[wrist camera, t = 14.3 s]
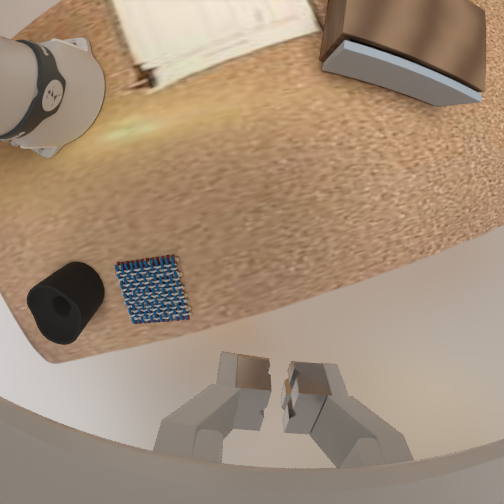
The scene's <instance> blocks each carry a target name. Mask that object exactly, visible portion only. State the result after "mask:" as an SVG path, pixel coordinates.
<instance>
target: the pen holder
mask: <svg viewBox="0 0 504 504" xmlns="http://www.w3.org/2000/svg"><path fill="white" fill-rule="evenodd" d="M103 297H104V289H103V285H102V282H101V280H100V278H99V276H98V275H97V273H96V272H95V271H94V270H93V269H92V268H90V267H89V266H87V265H85V264H83V263H79V262H72V263H69V264H67V265H65V266H64V267H62V268H61V269H59V270H57V271H56V272H54V273H53V274H52V275H50V276H49V277H47V278H46V279H44V280H43V281H41V282H40V283H39V284H37V285H36V286H34V287H33V288H32V289H31V290H30V291H29V293H28V296H27V304H28V307H29V309H30V311H31V312H32V314H33V316H34V319H35V321H36V324H37V326H38V328H39V330H40V332H41V333H42V334H43V336H45V337H46V338H47V339H48V340H50V341H52V342H54V343H57V344H62V345H66V344H70V343H72V342H74V341H75V340H76V339H77V337H78V336H79V335H80V333H81V332H82V330H83V329H84V328H85V326H86V325H87V323H88V322H89V321H90V319H91V318H92V316H93V315H94V314H95V312H96V311H97V309H98V308H99V306H100V305H101V303H102V301H103Z"/></svg>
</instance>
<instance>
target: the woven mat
mask: <svg viewBox="0 0 504 504" xmlns="http://www.w3.org/2000/svg"><path fill="white" fill-rule="evenodd" d="M166 257H167V258H164V256H161V258H160V259H159V258H158V257H156V258H155V259H154V260H153V258H150V261H149V259H148V258H146V261H143V259H141V260H140V262H139V261H138V260H136V262H134V261H131V262H130V263H129V261H126V264H124V262H121V264H120V262H117V264H118V266H117V265H115V269H116V271H117V272H116V271H115V273H117V275H116V277H118V278H119V279H117V280H118V281H119V282H120V285H118V286H119V287H121V288H122V289H120V290H121V291H123V293H121V295H122V294H123V296H124V297H125V298H123V300H125V302H124V304H125V303H126V304H127V305H126V307H128V309H129V311H127V313H128V312H129V314H130V315H129V316H130V317H131V318H129V319H131V320H132V322H133V323H134V324H142V323H151V322H154V323H155V322H160V320H161V322H165V319H166V322H168V321H170V320H171V321H173V320H176V321H179V320H180V319H181V320H185V319H186V320H189V316H190V315H193V313H192V312H188V311H189V310H191V306H190V305H189V306H187V304H186V303H187V302H190V300H189V299H184V297H185V298H187V296H188V294H186V293H183V290H184V289H185V288H184V286H182V285H181V282H183V280H182V279H180V277H181V276H183V273H182V272H179V271H178V270H177V269H178V268H181V266H176V262H178V261H179V260H180V259H179V258H178V257H174V255H171V257H170V258H169V255H166ZM175 261H176V262H175ZM165 262H166V265H165ZM170 262H171V264H170ZM160 263H161V265H160ZM155 265H156V266H155ZM145 267H146V268H145ZM135 268H136V269H135ZM126 270H127V271H126ZM172 270H173V271H174V272H173V271H172ZM167 271H168V272H167ZM152 273H153V274H152ZM157 273H158V274H157ZM168 277H170V279H169V278H168ZM174 277H175V278H176V279H175V278H174ZM164 278H165V280H164ZM153 279H154V280H155V281H154V280H153ZM144 281H145V282H144ZM125 284H126V285H125ZM170 285H171V286H172V287H171V286H170ZM161 287H162V288H161ZM166 287H167V288H166ZM141 289H142V290H141ZM162 292H163V294H162ZM167 292H168V293H167ZM134 297H135V298H134ZM179 298H180V299H179ZM169 299H170V301H169ZM164 300H165V301H164ZM181 304H182V306H181ZM166 305H167V307H166ZM161 306H162V308H161ZM171 306H172V307H171ZM142 308H143V309H142ZM152 308H153V309H152ZM168 311H169V312H168ZM178 312H179V313H178ZM183 312H184V313H183ZM149 315H150V316H149ZM140 316H141V317H140ZM184 316H185V317H184ZM179 317H180V318H179ZM169 318H170V319H169Z"/></svg>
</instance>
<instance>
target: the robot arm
mask: <svg viewBox="0 0 504 504" xmlns="http://www.w3.org/2000/svg"><path fill="white" fill-rule="evenodd" d="M75 44H76V45H75ZM104 92H105V81H104V75H103V71H102V69H101V67H100V65H99V63H98V62H97V61H96V59H95V58H94V57H93V55H92V53H91V47H90V42H89V40H88V39H86V38H83V37H79V38H72V39H66V40H59V39H54V38H53V39H52V40H51V41H45V42H41V43H37V42H33V41H29V40H28V41H26V40H16V41H14V40H11V39H8V38H4V37H1V36H0V141H4V142H8V141H9V140H11V143H10V144H11V145H13V146H19V145H20V148H23V149H31V150H33V151H35V152H36V153H38V154H40V155H41V156H43V157H45V158H52V157H53V156H55V155H56V154H57V153H58V151H59V150H60V149H61V148H62V147H63V146H64V145H65V144H67V143H69V142H71V141H73V140H75V139H77V138H78V137H80V136H81V135H82V134H83V133H85V132H86V131H87V130H88V128H89V127H90V126H91V125H92V123H93V122H94V120H95V119H96V117H97V115H98V113H99V111H100V108H101V106H102V102H103V98H104ZM43 148H44V149H43ZM269 367H270V363H269V359H268V358H263V357H256V356H249V355H243V354H236V353H230V352H223V351H222V352H221V355H220V362H219V369H218V375H217V382H216V384H211V385H210V386H208V387H207V388H206V389H204V390H203V391H202V392H200V393H199V394H198V395H196V396H195V397H194V398H193V399H191V400H189V401H188V402H187V403H185V404H184V405H183V406H181V407H180V408H178V409H177V410H176V411H174V412H173V413H171V414H170V415H168V416H167V417H166V418H164V419H163V420H162V421H161V425H160V428H159V431H158V435H157V439H156V442H155V445H154V449H153V451H150V450H146V449H141V448H137V447H134V446H130V445H126V444H122V443H119V442H115V441H112V440H108V439H105V438H101V437H98V436H95V435H92V434H89V433H86V432H83V431H80V430H77V429H75V428H72V427H69V426H66V425H64V424H61V423H58V422H56V421H53V420H51V419H48V418H46V417H43V416H41V415H39V414H36V413H34V412H32V411H29V410H27V409H25V408H23V407H21V406H19V405H16V404H14V403H12V402H10V401H8V400H6V399H4V398H2V397H0V504H504V439H502V440H499V441H496V442H493V443H489V444H486V445H482V446H479V447H475V448H471V449H467V450H463V451H459V452H455V453H450V454H446V455H441V456H436V457H431V458H425V459H420V460H414V459H413V457H412V455H411V452H410V450H409V447H408V445H407V443H406V440H405V438H404V436H403V434H401V433H400V432H399V431H397V430H396V429H395V428H393V427H392V426H391V425H389V424H388V423H387V422H386V421H384V420H383V419H381V418H380V417H379V416H378V415H376V414H375V413H374V412H372V411H371V410H370V409H368V408H367V407H366V406H365V405H363V404H362V403H361V402H359V401H358V400H357V399H356V398H354V397H353V396H348V393H347V390H346V387H345V384H344V382H343V379H342V376H341V373H340V370H339V368H338V366H337V364H329V363H321V364H319V363H307V362H296V361H291V363H290V365H289V368H288V377H289V378H288V379H286V380H285V381H284V385H283V388H282V394H281V406H282V408H283V409H284V410H285V412H284V415H283V426H284V432H285V433H297V434H298V433H299V434H310V436H311V437H312V439H313V440H314V441H315V442H316V443H317V445H318V446H319V447H320V448H321V449H322V451H323V452H324V453H325V454H326V455H327V457H328V458H329V459H330V460H331V461H332V462H333V463H334V465H335V466H336V467H337V468H319V469H296V468H294V469H293V468H270V467H254V466H243V465H233V464H224V463H222V448H223V439H224V438H225V437H226V436H227V435H228V434H229V433H230V432H231V431H232V429H244V430H257V431H258V430H260V427H261V424H262V421H263V418H264V413H263V411H264V410H263V409H265V408H266V407H267V405H268V401H269V398H270V394H271V377H270V376H271V375H269V373H268V370H269Z"/></svg>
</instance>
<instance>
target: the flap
mask: <svg viewBox="0 0 504 504" xmlns="http://www.w3.org/2000/svg"><path fill="white" fill-rule="evenodd" d="M322 70H323V71H328V72H332V73H336V74H340V75H344V76H347V77H351V78H355V79H358V80H362V81H365V82H369V83H372V84H375V85H378V86H382V87H385V88H388V89H391V90H394V91H397V92H400V93H403V94H405V95H408V96H411V97H414V98H416V99H419V100H422V101H424V102H427V103H429V104H432V105H434V106H437V107H440V106H449V105H458V104H467V103H478V102H481V100H482V94H480V93H478V92H476V91H474V90H472V89H470V88H468V87H466V86H464V85H462V84H460V83H458V82H456V81H454V80H452V79H450V78H448V77H446V76H443V75H441V74H439V73H437V72H434V71H432V70H430V69H427V68H425V67H423V66H420V65H418V64H415V63H413V62H410V61H408V60H405V59H402V58H400V57H397V56H394V55H391V54H388V53H386V52H383V51H380V50H377V49H373V48H370V47H367V46H364V45H361V44H357V43H354V42H350V41H347V40H344V41H343V42H342V43H341V44H340V46H339V47H338V48H337V49H336V50H335V51H334V52H333V53H332V54H331V55H330V56H329V57H328V58H327V59H326V61H325V62H324V63H323V66H322Z"/></svg>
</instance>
